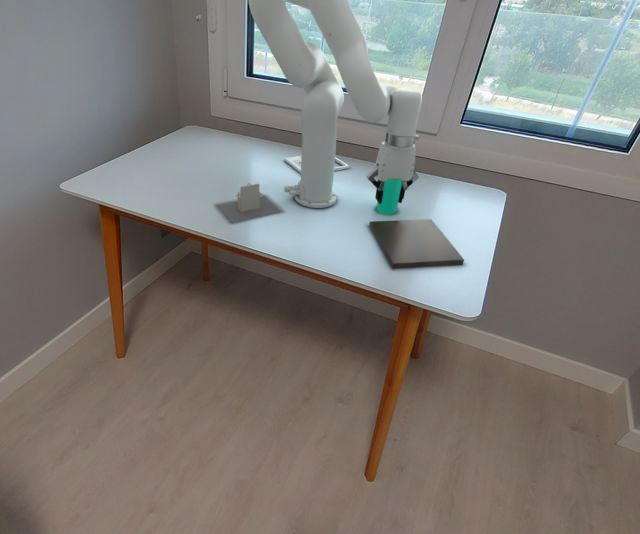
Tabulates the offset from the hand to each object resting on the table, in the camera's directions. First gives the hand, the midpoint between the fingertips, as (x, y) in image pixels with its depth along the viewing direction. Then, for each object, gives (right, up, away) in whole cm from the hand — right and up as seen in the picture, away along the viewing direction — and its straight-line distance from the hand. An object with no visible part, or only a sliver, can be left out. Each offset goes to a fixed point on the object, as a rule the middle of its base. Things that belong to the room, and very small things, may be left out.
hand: (388, 200), depth 118 cm
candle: (0, -3, +2) cm, 3 cm away
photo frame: (-21, +17, +27) cm, 38 cm away
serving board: (+4, -13, -13) cm, 19 cm away
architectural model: (-40, -3, -3) cm, 40 cm away
